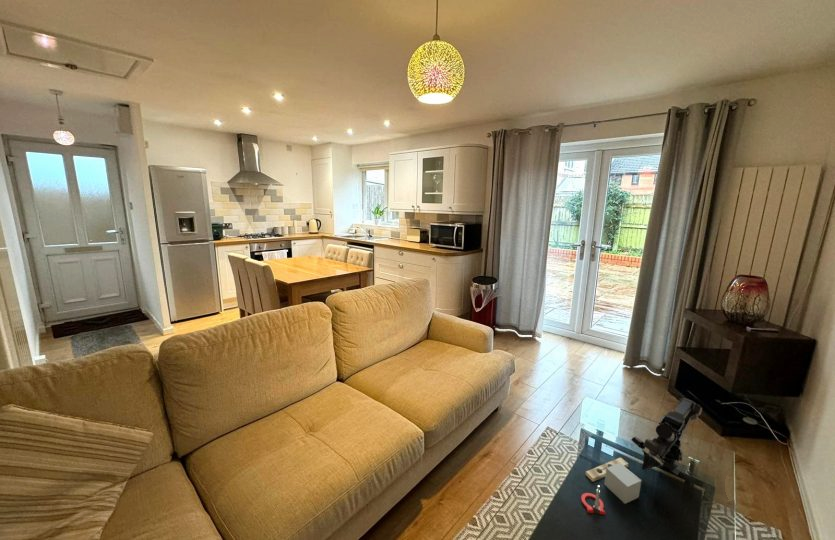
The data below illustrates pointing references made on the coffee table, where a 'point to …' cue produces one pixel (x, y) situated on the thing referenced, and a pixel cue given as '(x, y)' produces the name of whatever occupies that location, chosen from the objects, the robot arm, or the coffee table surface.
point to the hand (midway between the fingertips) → (643, 469)
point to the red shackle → (597, 507)
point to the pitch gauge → (603, 469)
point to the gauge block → (622, 482)
